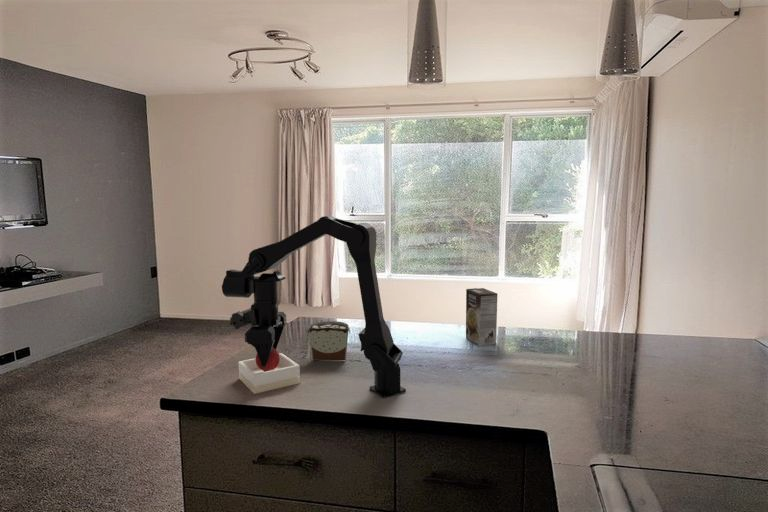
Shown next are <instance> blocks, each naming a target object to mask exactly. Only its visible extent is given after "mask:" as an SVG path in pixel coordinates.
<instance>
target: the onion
mask: <svg viewBox="0 0 768 512" xmlns="http://www.w3.org/2000/svg"><path fill="white" fill-rule="evenodd" d="M279 354H280V353H279V352H278V350H277V349H276V350H275V348H274V347H272V350H271V353H270V357H269V360H268V363H267V366H262V365H261V363H260V360H259V357H258V354H257V353H256V356H255V357H254V358H255V361H256V364H257V366H258V367H259V368H260V369H261V370H263V371H264V372H266V371H271V370H274V369H275V368H276V367H277V366H278V364H279V360H280V357H279Z"/></svg>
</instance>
